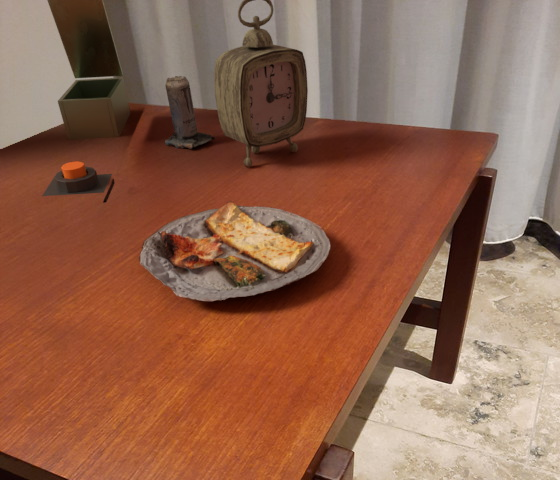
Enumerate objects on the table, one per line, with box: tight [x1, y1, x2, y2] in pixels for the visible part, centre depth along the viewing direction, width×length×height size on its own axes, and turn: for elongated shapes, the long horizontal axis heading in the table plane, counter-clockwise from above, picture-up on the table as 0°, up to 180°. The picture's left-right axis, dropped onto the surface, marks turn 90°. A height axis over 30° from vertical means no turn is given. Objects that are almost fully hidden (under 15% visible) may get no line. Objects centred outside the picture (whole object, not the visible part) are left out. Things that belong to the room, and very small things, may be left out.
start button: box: [61, 161, 87, 179], centre depth 90 cm, size 4×4×2 cm
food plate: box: [138, 200, 331, 302], centre depth 73 cm, size 25×23×4 cm
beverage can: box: [164, 75, 216, 150], centre depth 106 cm, size 9×8×12 cm
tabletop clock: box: [213, 0, 309, 168], centre depth 95 cm, size 14×9×25 cm, turn 129°
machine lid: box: [47, 0, 124, 79], centre depth 110 cm, size 16×10×5 cm
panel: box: [41, 165, 115, 204], centre depth 92 cm, size 10×8×4 cm
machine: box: [57, 76, 131, 141], centre depth 113 cm, size 16×10×9 cm, turn 3°
